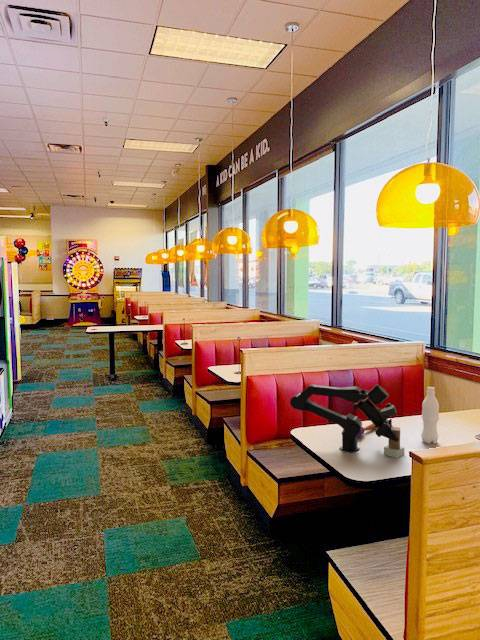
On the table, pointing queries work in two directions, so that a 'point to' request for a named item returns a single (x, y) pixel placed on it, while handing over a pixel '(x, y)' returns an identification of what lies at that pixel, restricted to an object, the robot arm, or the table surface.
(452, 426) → the table surface
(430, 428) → the water bottle
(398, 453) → the block
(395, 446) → the walnut pillar
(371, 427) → the kendama
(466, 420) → the table surface
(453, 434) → the table surface
